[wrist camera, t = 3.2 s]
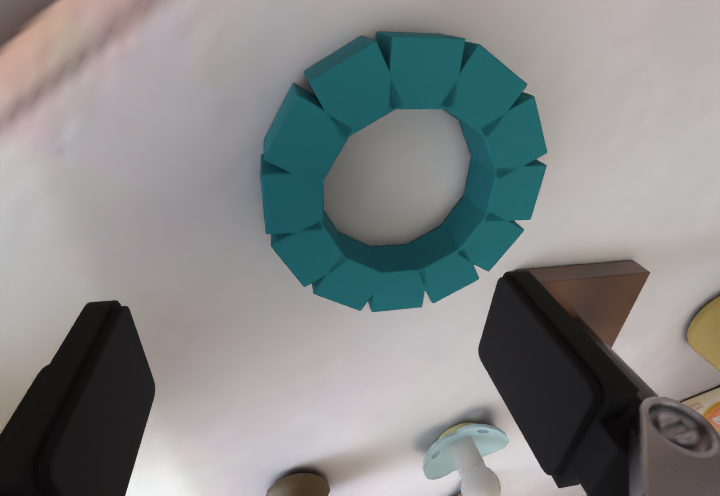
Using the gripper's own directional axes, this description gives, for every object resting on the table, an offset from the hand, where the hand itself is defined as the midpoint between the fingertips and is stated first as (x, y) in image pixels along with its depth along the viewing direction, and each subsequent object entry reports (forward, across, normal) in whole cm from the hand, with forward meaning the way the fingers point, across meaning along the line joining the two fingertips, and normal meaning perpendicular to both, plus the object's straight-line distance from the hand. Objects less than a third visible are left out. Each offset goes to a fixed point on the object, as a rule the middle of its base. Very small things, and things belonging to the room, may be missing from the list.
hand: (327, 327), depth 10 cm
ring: (+11, -5, 0) cm, 12 cm away
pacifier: (+11, -13, +24) cm, 30 cm away
